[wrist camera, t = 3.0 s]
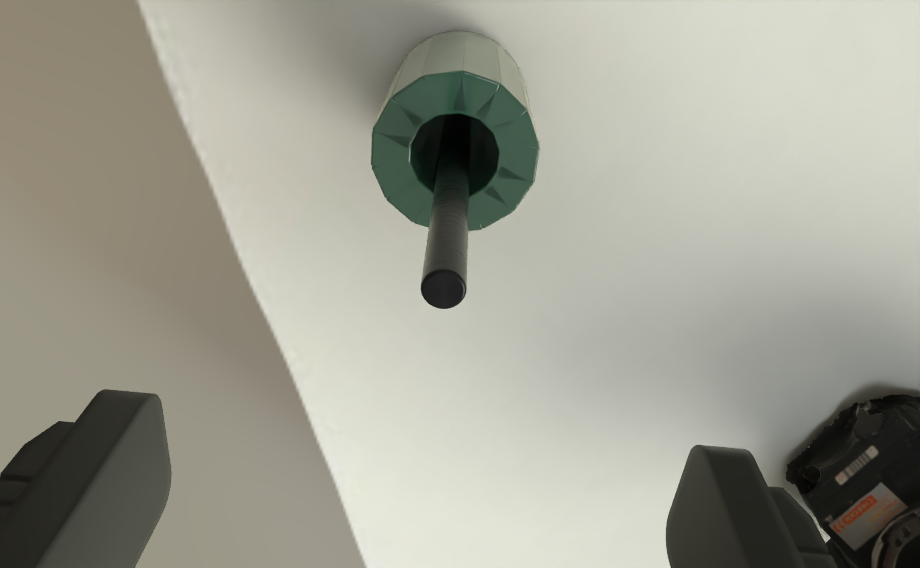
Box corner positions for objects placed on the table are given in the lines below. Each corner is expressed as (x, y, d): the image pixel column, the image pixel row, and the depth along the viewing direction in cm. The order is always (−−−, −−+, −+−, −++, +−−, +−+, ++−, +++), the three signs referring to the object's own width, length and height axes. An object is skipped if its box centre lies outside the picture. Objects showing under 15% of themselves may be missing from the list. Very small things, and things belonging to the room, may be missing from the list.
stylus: (445, 114, 29) (418, 307, 16) (447, 89, 28) (422, 268, 15) (470, 116, 29) (464, 312, 16) (472, 92, 28) (468, 272, 15)
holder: (390, 156, 30) (368, 226, 24) (396, 22, 27) (373, 61, 21) (515, 169, 30) (525, 240, 24) (534, 36, 28) (550, 79, 22)
